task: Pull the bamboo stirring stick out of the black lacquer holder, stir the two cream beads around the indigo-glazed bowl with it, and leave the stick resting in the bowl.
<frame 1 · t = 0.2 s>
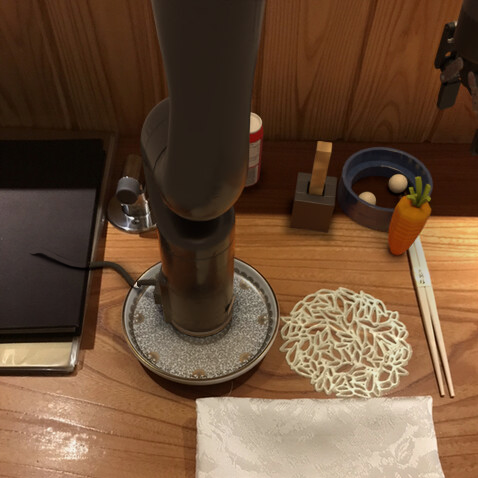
hand: (460, 129, 70), 22 cm above the counter, tool pointing down, fingers open, 8 cm apart
bead b: (366, 201, 90), point 2 cm above the counter, touching bowl
bowl: (378, 202, 93), on the counter
carrot: (394, 255, 88), on the counter
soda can: (242, 180, 95), on the counter
bead a: (397, 183, 92), point 2 cm above the counter, touching bowl
stick holder: (309, 220, 91), on the counter
stick: (310, 215, 90), point 1 cm above the counter, touching stick holder
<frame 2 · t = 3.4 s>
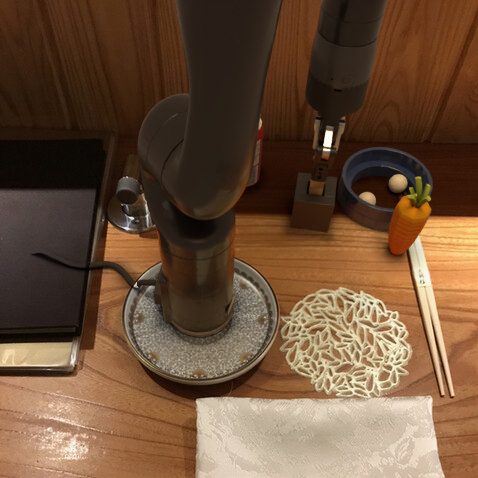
hand: (319, 173, 82), 10 cm above the counter, tool pointing down, fingers closed on stick, 2 cm apart
stick: (310, 215, 90), point 1 cm above the counter, touching gripper, stick holder
everything else where it was.
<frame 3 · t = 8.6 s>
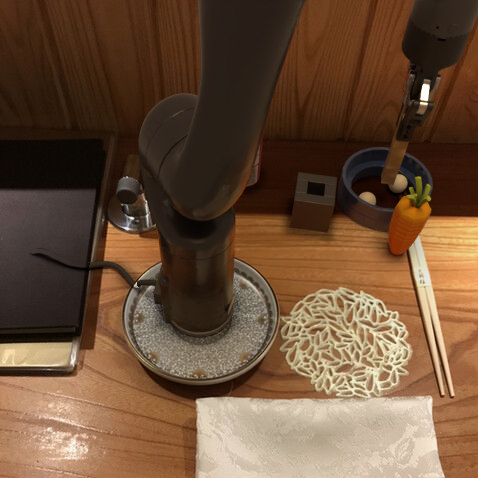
hand: (402, 133, 81), 14 cm above the counter, tool pointing down, fingers closed on stick
stick: (387, 179, 89), point 5 cm above the counter, touching gripper
everything else where it was.
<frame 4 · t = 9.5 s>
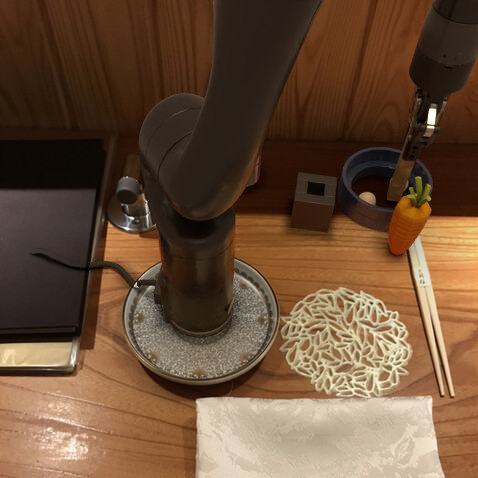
hand: (409, 153, 84), 11 cm above the counter, tool pointing down, fingers closed on stick, 2 cm apart
stick: (393, 196, 92), point 2 cm above the counter, touching gripper
everything else where it was.
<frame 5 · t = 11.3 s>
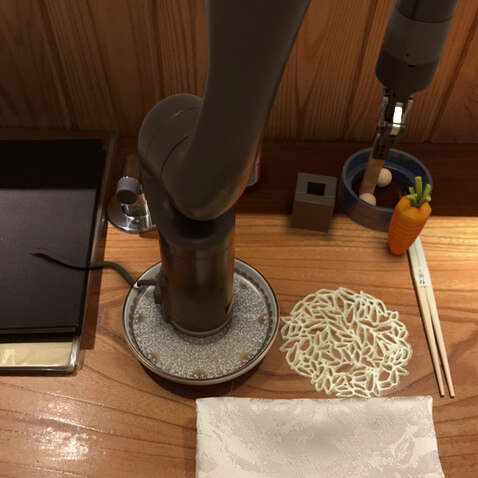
hand: (379, 151, 84), 10 cm above the counter, tool pointing down, fingers closed on stick, 2 cm apart
bead b: (366, 202, 90), point 2 cm above the counter, tilted 8°, touching bowl
bead a: (382, 177, 93), point 2 cm above the counter, tilted 42°, touching bowl
stick: (364, 195, 92), point 1 cm above the counter, touching gripper
everything else where it was.
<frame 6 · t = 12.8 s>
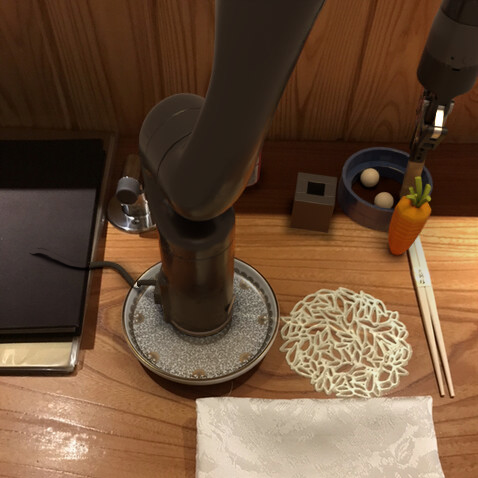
hand: (415, 154, 84), 11 cm above the counter, tool pointing down, fingers closed on stick, 2 cm apart
bead b: (383, 201, 90), point 2 cm above the counter, tilted 65°, touching bowl
bead a: (369, 177, 93), point 2 cm above the counter, tilted 122°, touching bowl
stick: (406, 198, 91), point 2 cm above the counter, touching gripper
everything else where it was.
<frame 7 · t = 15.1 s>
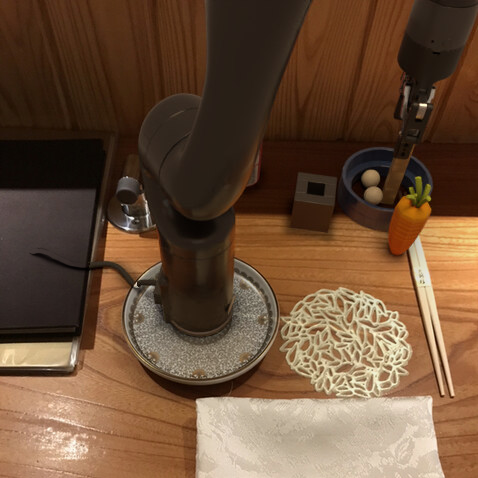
hand: (400, 137, 82), 13 cm above the counter, tool pointing down, fingers open, 8 cm apart
bead b: (373, 196, 91), point 2 cm above the counter, tilted 98°, touching bowl
stick: (386, 200, 92), point 1 cm above the counter, touching bowl
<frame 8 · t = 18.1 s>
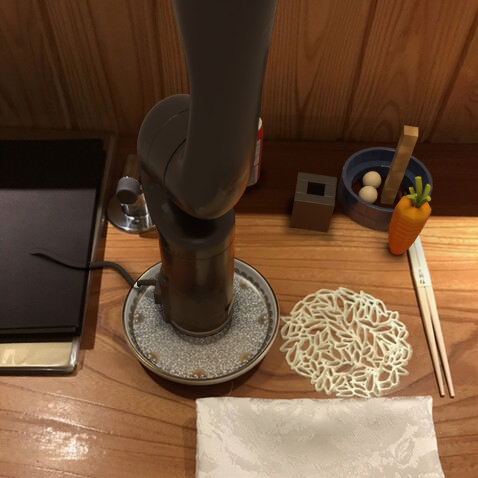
bead b: (367, 195, 91), point 2 cm above the counter, tilted 108°, touching bowl
bead a: (371, 180, 93), point 2 cm above the counter, tilted 111°, touching bowl
everything else where it was.
at the end: bead a moved 4.3 cm from its start; stick inside the target area in the bowl (1.1 cm from its centre), point 0.8 cm above the bowl's base; the gripper is holding nothing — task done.
